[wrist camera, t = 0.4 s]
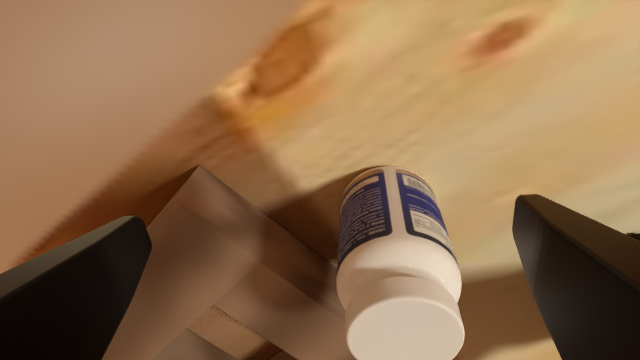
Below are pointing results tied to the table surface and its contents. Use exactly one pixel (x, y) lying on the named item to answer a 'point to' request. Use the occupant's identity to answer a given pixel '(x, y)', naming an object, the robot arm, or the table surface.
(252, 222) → the well block
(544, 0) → the table surface
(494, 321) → the table surface
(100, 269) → the robot arm
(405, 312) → the pill bottle
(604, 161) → the table surface
